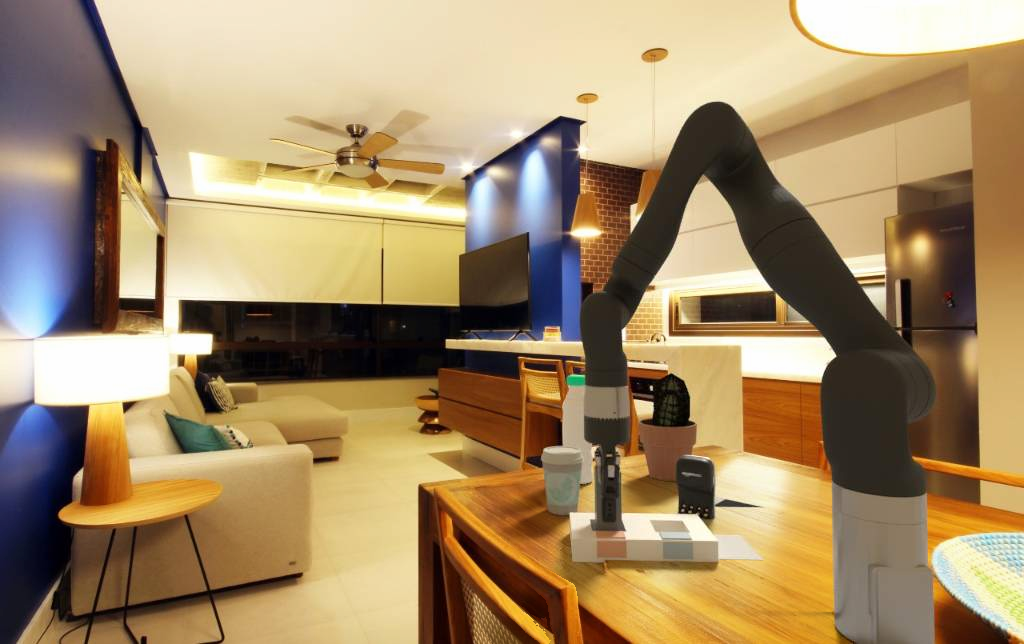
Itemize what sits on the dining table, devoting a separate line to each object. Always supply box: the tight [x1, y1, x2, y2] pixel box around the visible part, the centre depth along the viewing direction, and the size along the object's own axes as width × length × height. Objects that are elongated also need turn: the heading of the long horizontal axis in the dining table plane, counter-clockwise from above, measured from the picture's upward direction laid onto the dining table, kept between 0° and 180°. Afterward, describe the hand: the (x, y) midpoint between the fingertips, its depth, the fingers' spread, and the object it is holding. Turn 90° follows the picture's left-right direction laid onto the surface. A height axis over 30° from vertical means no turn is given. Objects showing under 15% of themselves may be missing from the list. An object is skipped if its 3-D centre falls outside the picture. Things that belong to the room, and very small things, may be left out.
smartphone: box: [715, 496, 766, 509], centre depth 106 cm, size 7×16×1 cm, turn 46°
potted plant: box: [638, 372, 698, 482], centre depth 132 cm, size 14×14×25 cm
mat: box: [713, 534, 764, 561], centre depth 88 cm, size 10×8×1 cm
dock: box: [569, 512, 720, 564], centre depth 89 cm, size 12×22×4 cm, turn 86°
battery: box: [675, 454, 717, 520], centre depth 103 cm, size 7×4×11 cm, turn 54°
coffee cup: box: [540, 445, 584, 516], centre depth 108 cm, size 9×8×12 cm
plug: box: [593, 465, 623, 531], centre depth 90 cm, size 4×4×11 cm
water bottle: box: [561, 374, 594, 485], centre depth 129 cm, size 7×7×25 cm
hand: (607, 516), depth 90 cm, fingers closed on plug, 4 cm apart
